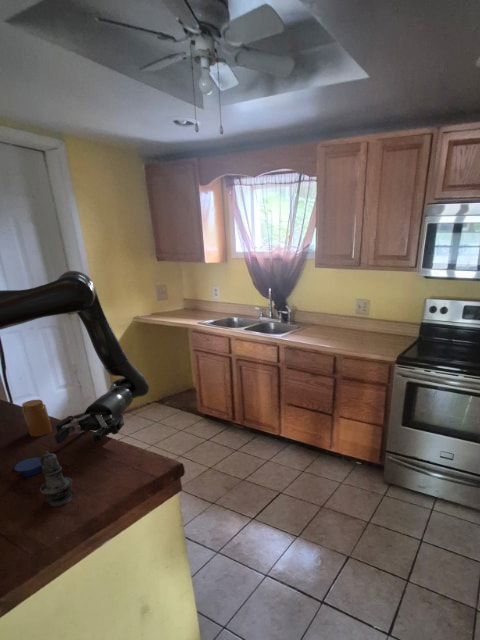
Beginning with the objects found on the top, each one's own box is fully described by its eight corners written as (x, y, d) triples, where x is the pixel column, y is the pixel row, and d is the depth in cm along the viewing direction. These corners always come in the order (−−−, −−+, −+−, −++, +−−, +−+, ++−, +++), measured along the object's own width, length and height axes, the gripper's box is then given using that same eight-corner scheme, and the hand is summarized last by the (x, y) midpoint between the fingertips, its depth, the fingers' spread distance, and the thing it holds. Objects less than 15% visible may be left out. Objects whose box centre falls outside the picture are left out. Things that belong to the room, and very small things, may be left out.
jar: (26, 440, 103) (15, 406, 99) (41, 431, 108) (31, 398, 104) (43, 441, 102) (33, 407, 98) (58, 432, 107) (48, 399, 103)
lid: (51, 464, 92) (49, 458, 91) (32, 478, 87) (30, 472, 86) (30, 462, 93) (28, 456, 92) (10, 475, 87) (7, 469, 87)
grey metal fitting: (81, 495, 81) (68, 448, 76) (54, 511, 76) (38, 461, 71) (66, 487, 84) (52, 440, 79) (38, 501, 79) (22, 453, 74)
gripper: (136, 422, 102) (110, 453, 87) (83, 422, 102) (49, 453, 87) (131, 397, 99) (104, 424, 84) (77, 397, 99) (40, 425, 84)
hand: (76, 439), depth 86 cm, fingers open, 8 cm apart
